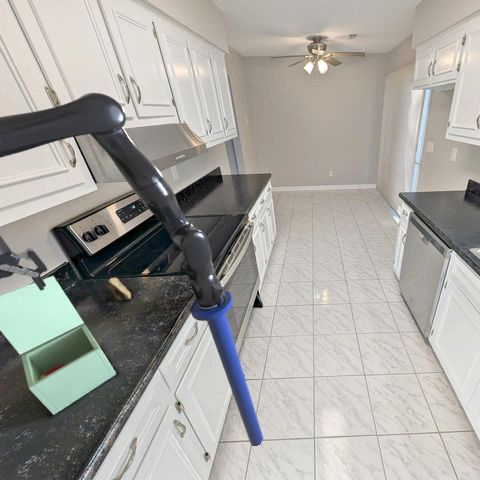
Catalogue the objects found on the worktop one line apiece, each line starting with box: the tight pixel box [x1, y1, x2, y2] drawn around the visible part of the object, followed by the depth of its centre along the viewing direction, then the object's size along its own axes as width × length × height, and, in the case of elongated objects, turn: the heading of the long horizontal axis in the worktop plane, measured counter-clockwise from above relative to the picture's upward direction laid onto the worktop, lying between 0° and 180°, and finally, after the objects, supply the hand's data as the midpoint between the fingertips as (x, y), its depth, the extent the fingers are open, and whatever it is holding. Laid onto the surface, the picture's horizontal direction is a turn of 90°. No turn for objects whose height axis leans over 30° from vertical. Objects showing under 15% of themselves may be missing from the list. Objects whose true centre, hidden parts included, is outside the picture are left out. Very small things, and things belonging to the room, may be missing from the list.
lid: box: [0, 275, 85, 356], centre depth 71 cm, size 17×14×1 cm
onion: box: [40, 364, 67, 380], centre depth 70 cm, size 6×6×8 cm
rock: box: [104, 276, 132, 301], centre depth 109 cm, size 11×9×10 cm
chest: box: [20, 323, 117, 416], centre depth 72 cm, size 16×14×11 cm
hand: (18, 298), depth 61 cm, fingers open, 8 cm apart
